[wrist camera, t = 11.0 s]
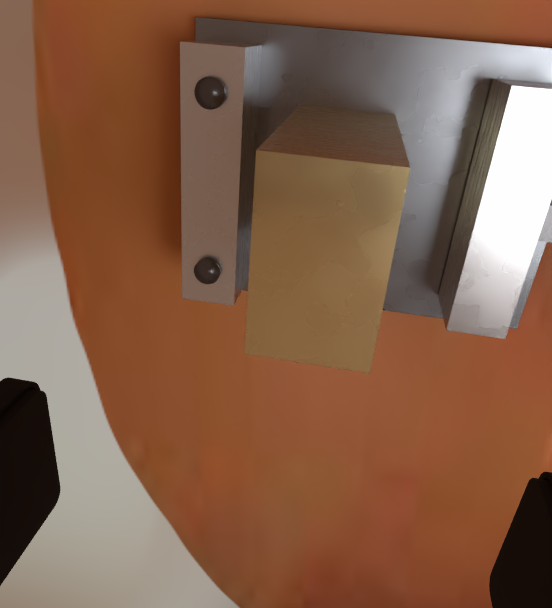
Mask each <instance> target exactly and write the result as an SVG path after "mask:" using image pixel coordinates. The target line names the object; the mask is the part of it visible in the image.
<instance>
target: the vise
mask: <svg viewBox="0 0 552 608" xmlns="http://www.w3.org/2000/svg"><path fill="white" fill-rule="evenodd" d="M493 78H495V79H506V80H516V81H527V82H538V83H548V84H552V48H543V47H531V46H520V45H509V44H497V43H486V42H474V41H463V40H451V39H440V38H429V37H417V36H406V35H394V34H383V33H372V32H360V31H349V30H337V29H326V28H315V27H303V26H292V25H280V24H269V23H258V22H246V21H235V20H223V19H212V18H200V17H195V41H180V114H181V233H182V298H184V299H190V300H197V301H204V302H211V303H218V304H225V305H232V306H234V305H235V303H236V301H237V299H238V297H239V295H240V293H241V291H242V290H246V291H248V282H249V265H250V247H251V230H252V213H253V196H254V179H255V161H256V150H257V149H258V148H259V147H260V146H261V145H262V144H263V143H264V142H265V140H266V139H267V138H268V137H269V136H270V135H271V134H272V133H273V132H274V131H275V130H276V129H277V128H278V127H279V126H280V125H281V124H282V123H283V122H284V121H285V120H286V119H287V118H288V117H289V116H290V115H291V114H292V112H293V111H294V110H295V109H296V108H297V107H298V106H299V105H306V106H316V107H326V108H335V109H345V110H354V111H364V112H374V113H383V114H393V115H396V118H397V122H398V125H399V129H400V132H401V136H402V140H403V143H404V147H405V150H406V154H407V157H408V161H409V164H410V173H409V178H408V183H407V188H406V193H405V198H404V203H403V208H402V213H401V218H400V224H399V229H398V234H397V239H396V244H395V249H394V254H393V259H392V264H391V269H390V274H389V279H388V284H387V289H386V295H385V300H384V305H383V310H386V311H393V312H400V313H407V314H414V315H421V316H428V317H435V318H442V319H443V315H442V311H441V307H440V303H439V299H438V295H439V291H440V287H441V283H442V279H443V275H444V271H445V267H446V263H447V259H448V255H449V251H450V247H451V243H452V239H453V235H454V231H455V227H456V223H457V219H458V215H459V211H460V207H461V203H462V199H463V195H464V191H465V187H466V183H467V179H468V175H469V171H470V167H471V163H472V159H473V155H474V151H475V147H476V143H477V139H478V135H479V131H480V127H481V123H482V119H483V115H484V111H485V107H486V103H487V99H488V95H489V91H490V87H491V83H492V79H493ZM545 245H546V242H542V241H537V244H536V247H535V250H534V253H533V256H532V259H531V262H530V265H529V268H528V271H527V274H526V277H525V280H524V283H523V286H522V289H521V292H520V295H519V298H518V301H517V304H516V307H515V310H514V313H513V316H512V319H511V322H510V325H509V328H513V329H517V327H518V324H519V321H520V318H521V315H522V312H523V309H524V306H525V303H526V300H527V297H528V295H529V292H530V289H531V286H532V283H533V280H534V277H535V274H536V271H537V268H538V265H539V262H540V259H541V256H542V254H543V251H544V248H545Z"/></svg>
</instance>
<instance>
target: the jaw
mask: <svg viewBox="0 0 552 608" xmlns="http://www.w3.org/2000/svg"><path fill="white" fill-rule="evenodd" d="M537 241H542V242H550V243H552V84H548V83H538V82H527V81H516V80H506V79H495V78H493V79H492V83H491V87H490V91H489V95H488V99H487V103H486V107H485V111H484V115H483V119H482V123H481V127H480V131H479V135H478V139H477V143H476V147H475V151H474V155H473V159H472V163H471V167H470V171H469V175H468V179H467V183H466V187H465V191H464V195H463V199H462V203H461V207H460V211H459V215H458V219H457V223H456V227H455V231H454V235H453V239H452V243H451V247H450V251H449V255H448V259H447V263H446V267H445V271H444V275H443V279H442V283H441V287H440V291H439V295H438V299H439V303H440V307H441V311H442V315H443V319H444V323H445V327H446V330H447V331H454V332H461V333H468V334H475V335H482V336H489V337H496V338H503V339H505V337H506V334H507V331H508V328H509V325H510V322H511V319H512V316H513V313H514V310H515V307H516V304H517V301H518V298H519V295H520V292H521V289H522V286H523V283H524V280H525V277H526V274H527V271H528V268H529V265H530V262H531V259H532V256H533V253H534V250H535V247H536V244H537Z"/></svg>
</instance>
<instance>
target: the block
mask: <svg viewBox="0 0 552 608" xmlns="http://www.w3.org/2000/svg"><path fill="white" fill-rule="evenodd" d="M409 173H410V164H409V161H408V157H407V154H406V150H405V147H404V143H403V140H402V136H401V132H400V129H399V125H398V122H397V118H396V115H393V114H383V113H374V112H364V111H354V110H345V109H335V108H326V107H316V106H306V105H299V106H298V107H297V108H296V109H295V110H294V111H293V112H292V114H291V115H290V116H289V117H288V118H287V119H286V120H285V121H284V122H283V123H282V124H281V125H280V126H279V127H278V128H277V129H276V130H275V131H274V132H273V133H272V134H271V135H270V136H269V137H268V138H267V139H266V140H265V142H264V143H263V144H262V145H261V146H260V147H259V148H258V149H257V150H256V161H255V179H254V196H253V213H252V230H251V247H250V265H249V282H248V299H247V316H246V333H245V351H244V354H248V355H255V356H261V357H267V358H274V359H280V360H287V361H293V362H300V363H306V364H312V365H319V366H325V367H332V368H338V369H344V370H351V371H357V372H364V373H370V371H371V366H372V360H373V355H374V350H375V345H376V340H377V335H378V330H379V325H380V320H381V315H382V310H383V305H384V300H385V295H386V289H387V284H388V279H389V274H390V269H391V264H392V259H393V254H394V249H395V244H396V239H397V234H398V229H399V224H400V218H401V213H402V208H403V203H404V198H405V193H406V188H407V183H408V178H409Z"/></svg>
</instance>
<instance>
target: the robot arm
mask: <svg viewBox="0 0 552 608" xmlns="http://www.w3.org/2000/svg"><path fill="white" fill-rule="evenodd" d="M59 495H60V482H59V475H58V469H57V462H56V456H55V449H54V443H53V436H52V430H51V423H50V417H49V410H48V404H47V397H46V394H45V393H44V392H43V391H40V388H39V386H38V384H37V383H35V382H30V381H25V380H19V379H13V378H5V379H3V380H2V381H0V585H1V584H2V582H3V581H4V579H5V578H6V577H7V575H8V574H9V572H10V571H11V569H12V568H13V566H14V565H15V563H16V562H17V560H18V559H19V558H20V556H21V555H22V553H23V552H24V550H25V549H26V547H27V546H28V544H29V543H30V542H31V540H32V539H33V537H34V536H35V534H36V533H37V531H38V530H39V529H40V527H41V526H42V524H43V523H44V521H45V520H46V518H47V517H48V515H49V514H50V513H51V511H52V510H53V508H54V506H55V505H56V503H57V501H58V498H59ZM489 587H490V596H491V601H492V606H493V608H552V473H550V472H543V473H542V474H541V475H540V477H539V479H537V478H531V479H530V480H529V482H528V484H527V487H526V489H525V492H524V494H523V496H522V499H521V501H520V504H519V506H518V509H517V511H516V513H515V516H514V518H513V521H512V523H511V526H510V528H509V530H508V533H507V535H506V538H505V540H504V543H503V545H502V547H501V550H500V552H499V555H498V557H497V560H496V562H495V564H494V567H493V569H492V572H491V575H490V584H489Z"/></svg>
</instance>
